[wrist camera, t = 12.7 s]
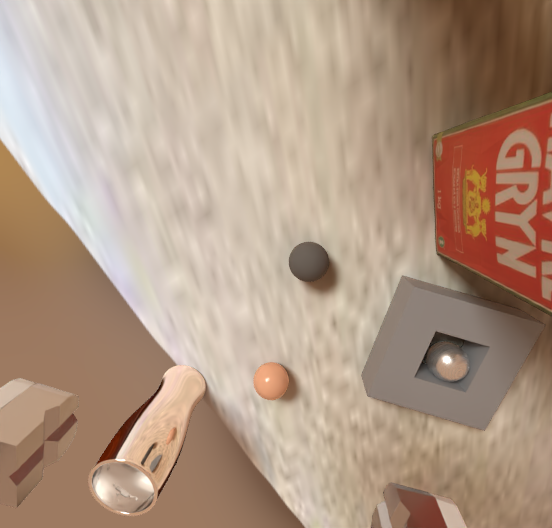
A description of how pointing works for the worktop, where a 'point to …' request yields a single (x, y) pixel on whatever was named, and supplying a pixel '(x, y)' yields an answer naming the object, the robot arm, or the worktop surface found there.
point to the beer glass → (147, 445)
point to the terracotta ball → (271, 381)
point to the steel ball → (447, 361)
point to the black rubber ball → (308, 261)
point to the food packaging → (499, 198)
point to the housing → (478, 346)
